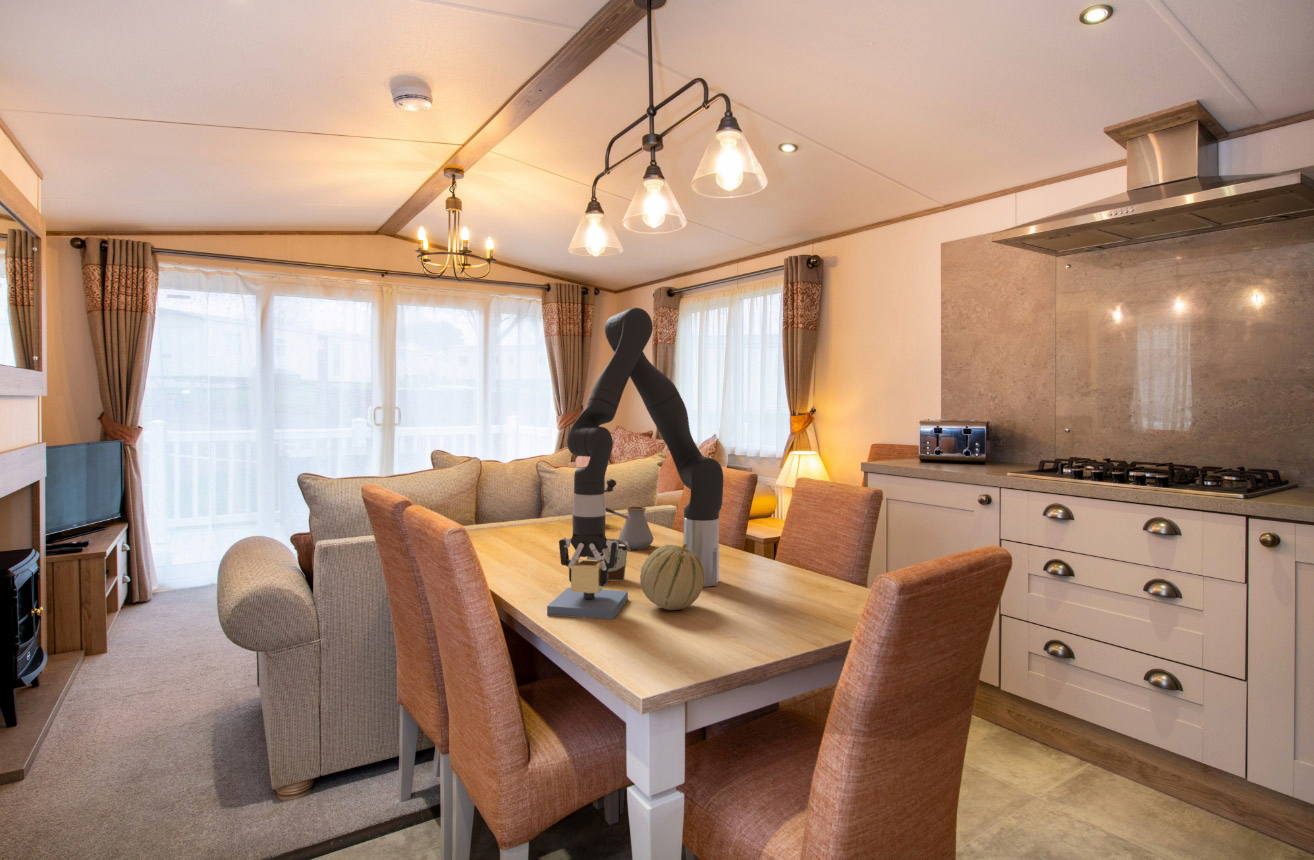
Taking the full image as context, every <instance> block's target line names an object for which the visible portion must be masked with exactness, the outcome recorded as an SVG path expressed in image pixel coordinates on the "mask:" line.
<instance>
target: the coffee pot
mask: <svg viewBox="0 0 1314 860" xmlns="http://www.w3.org/2000/svg"><path fill="white" fill-rule="evenodd" d="M625 509H626V510H627V513H628V514H627V515H625V514H622V513H619V512H616V511H615V510H612V509H611V508H608V507H606V512H607V513H609V514H613V515H616V516H618V517H621V518H623V519H625V522H624V524H623V526H622V529H621V531H620V533H619V536H618V539H619V540H624V541H626V542H628V545H629V549H630V550H633V549H637V550H645V549H648V547H649V546H650V545H652V543H653V542H654V536H653V533H652V531H651V528H650V526H649V523H648V522H647V519H646V516H645V511H646V510H647V508H646V507H645V506H636V505H635V506H628V507H626V508H625Z"/></svg>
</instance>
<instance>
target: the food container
mask: <svg viewBox="0 0 1314 860" xmlns="http://www.w3.org/2000/svg"><path fill="white" fill-rule="evenodd" d="M606 539H607V540H609V541H615V540H617V541H619V547H618V556H617V564H616V565H615V566H614V567H613V568H610V569H609V576H608V580H620V581H619V582H625V576H626V575H625V574H626V566H627V559H628V558H627V557H628V552H630V551H631V549H629V545H628V542H626V541H624V540H619V539H616V538H606ZM603 552H604V554H605V556H606V560H607V562H609V561H610V552H611V551H610V550H609V549H608V546H607V545H606V546H605V547H604V549H603ZM586 559H588V560H596V558H595V557H594V558H592V557H588V556H587V557H586Z"/></svg>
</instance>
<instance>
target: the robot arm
mask: <svg viewBox="0 0 1314 860" xmlns="http://www.w3.org/2000/svg"><path fill="white" fill-rule="evenodd" d="M653 329H654V328H653V320H652V318H651V316H650V314H649V313H648V312H647V311H646V310H645V309H643V308H641V307H632V308H628V309H626V310H624V311H623V310H622V311H620V312H619V313H616V314H613V315H612V316H611V317H609V318H608V319H607V320H606V321H605V325H604V334H605V338H606V340H607V342H608V344H609V346H610V348H611V349H612V351H613V353H614V354H613V355H612V357H611V358H610V360H609V362H608V363H607V365H606V366H605V367H604V369H603V370H602V371H601V373H600V374H599V376H598V378H597V379H596V381H595V383H594V385H593V387H592V389H591V392H590V395H589V398H588V400H587V403H586V406H585V408H584V409H583V410H582V411H581V413H580V414H579V416H578V417H577V418H576V419H575V421H574V423H573V424H572V426H571V427H570V429H569V431H568V432H567V433H568V434H567V439H566V444H567V449H568V450H569V452H570V453H571V454H572V455H574V456H577V457H585V458H589V460H588V463H587V465H586V466H582V467H578V468H576V469H575V471H574V474H573V476H574V477H573V478H574V480H573V499H572V505H573V508H572V510H571V511H572V512H573V524H572V536H571V538H566V537H563V538H561V539H560V540H558V545H559V547H558V548H559V557H560V564H561V565H562V566H565V567H567V568H568V581H569V582H570V583H571V565H573V564H574V563H576V561H578V560H579V559H581V558H587V556H588V557H592V558H594V557H595V558H596V560H597V562H598V563H599V565H601V569H602V570H601V586H605V585H607V584H608V583H609V581H608V576H609V569H610V568H613V567H614V566H615V565H616V564H617V556H618V547H619V541H617V540H615V541H609V540H607V539H608V538H607V537H606V508H607V506H606V503H607V502H606V497H605V496H606V494H605V493H606V492H605V490H606V488H605V485H606V481H605V478H606V472H607V469H608V465H609V461H610V458H611V454H612V451H613V445H614V441H613V437H612V434H611V432H610V431H609V429H608V428H606V427H604V426H602V425H604V424H608V423H611V422H612V421H613V420H614V418H615V416H616V413H617V410H618V409H619V404H620V402H621V399H622V396H623V393H624V391H625V388H626V385H627V384H628V381H629V379H630V380H631V382H632V383H633V385H634V387H635V388H636V390H637V392H638V394H639V396H640V397H641V399H642V402H643V404H644V406H645V408H646V411H647V412H648V414H649V417H650V418H651V421H653V423H654V425H655V427H656V429H657V431H658V432H659V434H660V436H661V438H662V440H663V442H664V443H665V445H666V447H667V448H668V451H669V453H670V456H671V458H672V461H673V463H674V466H675V469H676V471H677V473H678V476H679V478H680V480H681V482H682V484H683V485H684V486H685V488H688V489H690V497H689V502H688V504H686V505H685V506H684V508H683V545H684V544H686V545H687V547H686V549H688V550H690V551H691V552H693V553H694V554H695V555H696V556H697V557H698V558H699V560H700V562H701V564H702V566H703V570H704V585H703V588H705V587H717V586H718V584H719V581H720V545H719V540H720V538H719V535H720V533H719V531H720V511H721V509H722V505H723V494H724V471H723V468H722V465H721V464H720V463H719V461H717V460H716V459H714V458H712V457H708V456H707V457H706V456H703V454H702V453H701V451H700V450H699V448H698V446H697V444H696V442H695V440H694V439H693V436H692V433H691V429H690V422H689V421H690V420H689V415H688V410H687V407H686V404H685V403H684V401H683V398H682V396H681V394H680V392H679V390H678V389H677V386H676V385H675V384H674V383H673V381H672V380H671V379H670V378H669V377H667V376H666V375H665V374H664V373H663V372H662V371H661V370H659V369H658V368H657V367H656V366H654V365H653V363H652V362H650V361H649V359H648V358H647V356H646V354H645V353H644V350H645V348H646V346H647V344H648V343H649V341H650V340H651V339H650V338H651V337H652V334H653ZM571 545H572V547H573V548H574V550H575V551H574V553H573V555H572V556H571V559H570V556H569V548H570V546H571ZM606 545H607V546H608V549H609V550H610V551H611V552H610V561H609V562H607V560H606V556H605V554H604V552H603V549H604V547H605V546H606ZM683 545H682V546H683ZM605 587H606V586H605Z"/></svg>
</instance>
